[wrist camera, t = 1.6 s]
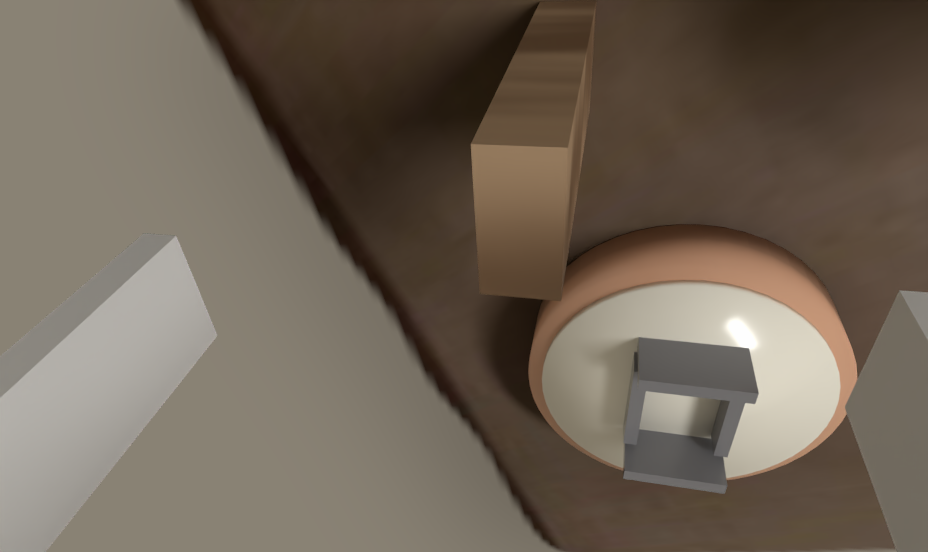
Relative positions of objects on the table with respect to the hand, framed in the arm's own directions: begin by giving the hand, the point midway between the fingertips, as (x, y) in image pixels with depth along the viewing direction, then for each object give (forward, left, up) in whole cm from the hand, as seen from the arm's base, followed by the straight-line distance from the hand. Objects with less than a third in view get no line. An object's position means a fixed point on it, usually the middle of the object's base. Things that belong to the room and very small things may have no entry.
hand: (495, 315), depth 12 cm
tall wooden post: (0, 0, -15) cm, 15 cm away
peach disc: (+14, +6, -15) cm, 21 cm away
